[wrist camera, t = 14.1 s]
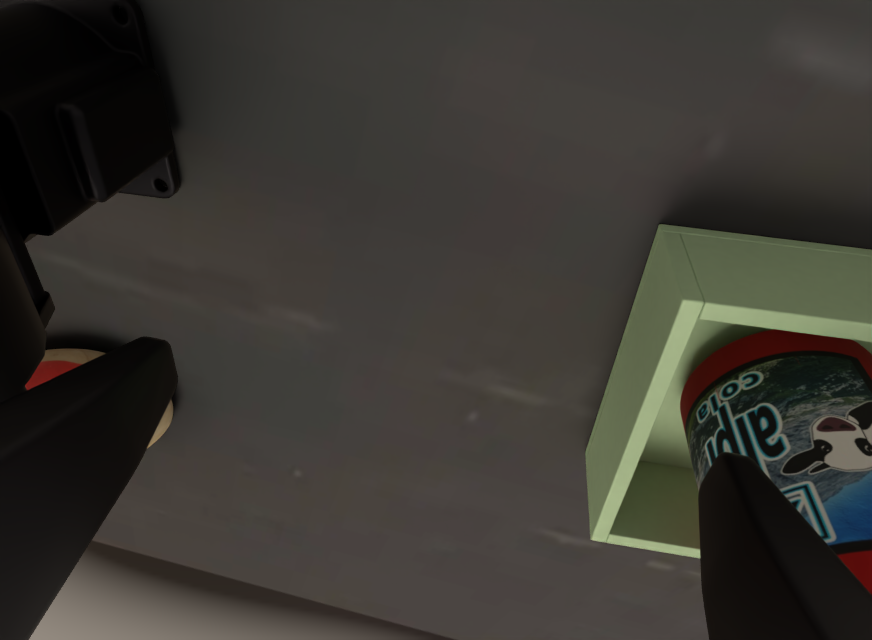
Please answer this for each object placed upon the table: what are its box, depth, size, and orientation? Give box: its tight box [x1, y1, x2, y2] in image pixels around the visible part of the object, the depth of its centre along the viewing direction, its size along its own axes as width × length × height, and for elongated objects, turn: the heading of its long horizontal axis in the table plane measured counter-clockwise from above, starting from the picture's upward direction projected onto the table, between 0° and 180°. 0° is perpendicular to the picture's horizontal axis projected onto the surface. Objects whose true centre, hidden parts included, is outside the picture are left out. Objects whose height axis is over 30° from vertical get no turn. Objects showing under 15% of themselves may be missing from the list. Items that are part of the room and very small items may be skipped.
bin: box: [585, 224, 872, 558], centre depth 21 cm, size 12×12×4 cm
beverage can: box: [680, 329, 872, 595], centre depth 18 cm, size 7×7×12 cm
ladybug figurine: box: [25, 348, 173, 448], centre depth 28 cm, size 7×10×4 cm
